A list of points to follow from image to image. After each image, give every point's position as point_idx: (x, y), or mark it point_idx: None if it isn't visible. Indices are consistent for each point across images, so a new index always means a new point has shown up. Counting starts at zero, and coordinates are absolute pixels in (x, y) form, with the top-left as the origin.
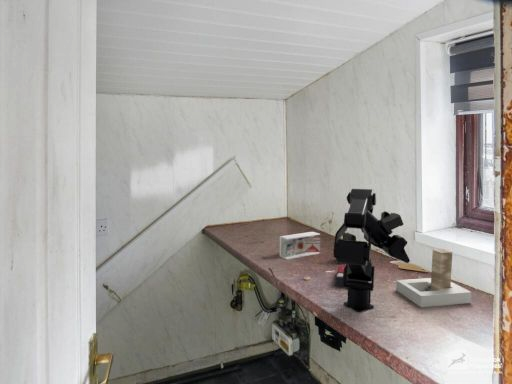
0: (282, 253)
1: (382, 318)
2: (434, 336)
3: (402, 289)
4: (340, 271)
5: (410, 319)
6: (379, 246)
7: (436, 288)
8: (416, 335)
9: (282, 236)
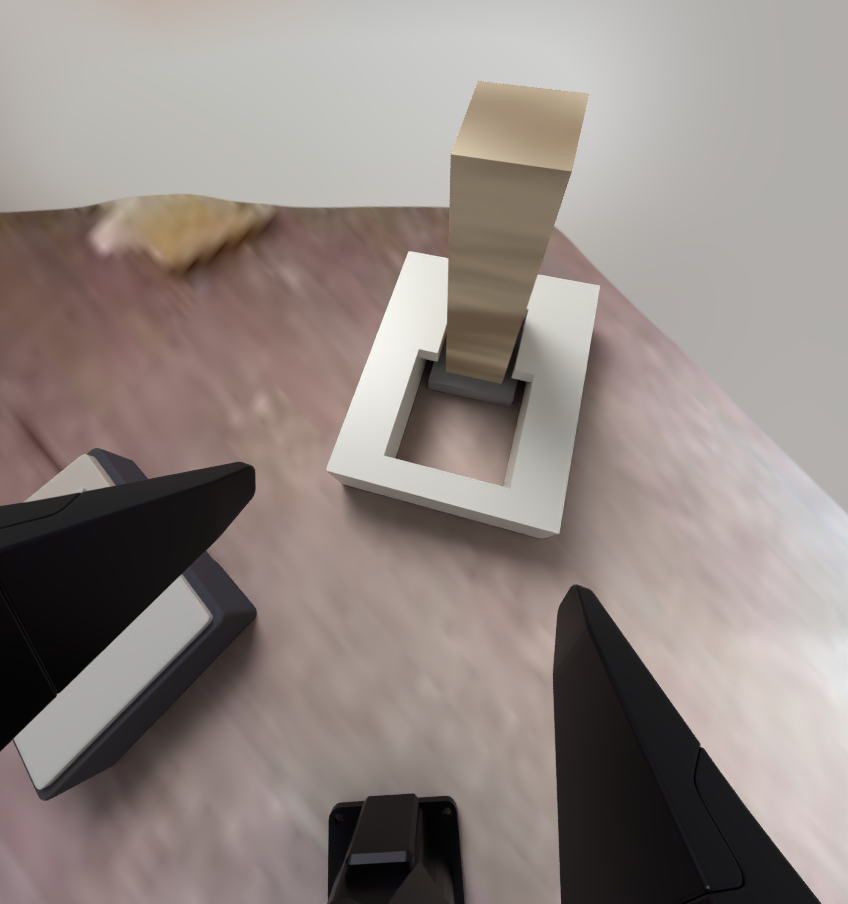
0: None
1: None
2: (827, 762)
3: (389, 492)
4: None
5: None
6: (46, 687)
7: (487, 367)
8: (804, 854)
9: None
